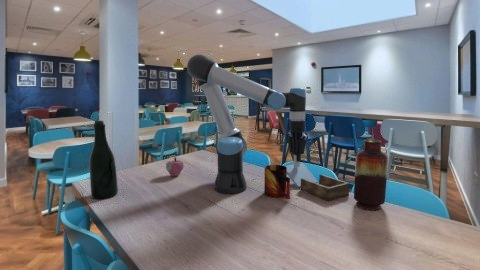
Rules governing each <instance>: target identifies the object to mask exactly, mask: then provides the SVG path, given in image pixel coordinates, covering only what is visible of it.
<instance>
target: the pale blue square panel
mask: <svg viewBox="0 0 480 270" xmlns="http://www.w3.org/2000/svg"><path fill="white" fill-rule="evenodd" d="M284 166H285V167H287V177H289V178H290V181H292V182H293V184H294V185H295V186H296V188H297V189H301V178H303V179H306V180H309V181H312V182H315V183H317V184H319V180H318V179H317V178H316V177H315V176H314V175H313V173H312V172H311V171H310V170H309V169H308V168H307V166H306V165H305V164H304V162H300V167H298V168H294V164H290V165H284Z"/></svg>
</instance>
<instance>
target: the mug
mask: <svg viewBox="0 0 480 270" xmlns="http://www.w3.org/2000/svg"><path fill="white" fill-rule="evenodd" d="M285 166H286V165H281V164H268V165H265V166H264V187H263V189H264V191H263V192H264V195H265V196H266V197H269V198H273V199H280V198H285V199H287V200H289V199H290V197H291V195H290V194H291V178H290V177H289V176H288V174H287V167H285Z"/></svg>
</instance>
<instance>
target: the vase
mask: <svg viewBox="0 0 480 270" xmlns="http://www.w3.org/2000/svg"><path fill="white" fill-rule="evenodd" d="M354 165H355V167H354V169H355V170H354V184H353V199H354V201H355V202H356V203H355V205H356V207H357V208H360V209H362V210H366V211H372V212H376V211H381V210H382V205H383V204H385V201H386V192H387V180H388V179H387V178H388V169H389V167H388V165H389V156H388V155H387V154H386V153H384V152H383V151H382V140H380V139H373V138H372V139H371V138H370V139H369V138H367V139H364V141H363V150H361V151H359V152H357V153H356V156H355V164H354Z"/></svg>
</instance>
